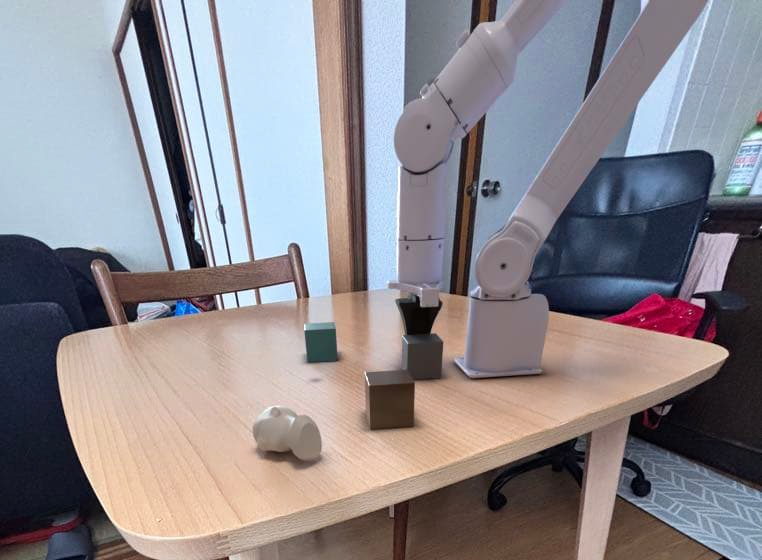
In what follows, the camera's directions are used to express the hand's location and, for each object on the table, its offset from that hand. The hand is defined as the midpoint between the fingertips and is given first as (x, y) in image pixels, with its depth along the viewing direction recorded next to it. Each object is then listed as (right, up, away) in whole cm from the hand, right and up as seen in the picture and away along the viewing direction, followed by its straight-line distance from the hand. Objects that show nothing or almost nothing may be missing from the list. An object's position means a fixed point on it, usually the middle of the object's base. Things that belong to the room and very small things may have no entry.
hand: (416, 355), depth 64 cm
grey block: (0, -3, -2) cm, 4 cm away
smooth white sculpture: (-15, -17, -20) cm, 31 cm away
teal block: (-13, +2, +6) cm, 15 cm away
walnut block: (-5, -13, -15) cm, 20 cm away
